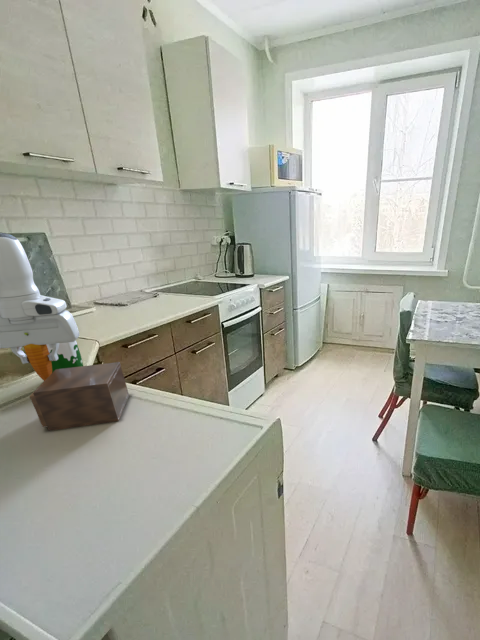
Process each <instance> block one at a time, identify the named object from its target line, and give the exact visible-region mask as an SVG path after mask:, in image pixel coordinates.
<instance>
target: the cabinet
mask: <svg viewBox="0 0 480 640" xmlns="http://www.w3.org/2000/svg"><path fill="white" fill-rule="evenodd" d="M32 393H33V394H34V396H35V399H36V401H37V404H38V406H39V408H40V411H41V413H42V416H43V418H44V420H45V423H46V425H47V427H46V428H47V430H48V431H49V432H51V431H58V430H64V429H65V430H66V429H73V428H79V427H86V426H92V425H93V426H94V425H100V424H108V423H114V422H119V421H120V419H121V416H122V414H123V412H124V409H125V407H126V405H127V403H128V400H129V398H130V394H129V390H128V386H127V383H126V378H125V375H124V372H123V369H122V364H121V362H120V361H116V362H108V363H99V364H91V365H83V366H81V367H72V368H64V369H56V370H55V371H54V372H53V373H52V374H51V375H50V376H49V377H48V378H47V379H46V380H45V381H44V380H43V382H42V383H41V384H40V385H39V386H38V387H37V388H35V390H34V391H33V392H32Z"/></svg>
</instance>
